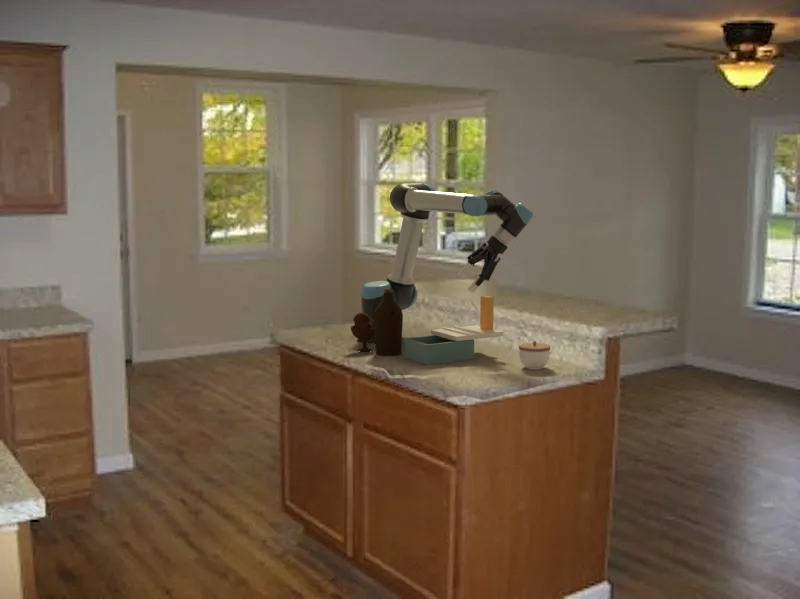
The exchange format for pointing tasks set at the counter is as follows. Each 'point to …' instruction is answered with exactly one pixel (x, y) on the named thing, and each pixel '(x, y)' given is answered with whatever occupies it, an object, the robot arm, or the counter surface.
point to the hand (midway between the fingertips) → (464, 284)
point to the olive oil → (388, 326)
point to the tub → (437, 350)
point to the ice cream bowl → (363, 330)
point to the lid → (473, 331)
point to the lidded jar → (534, 355)
